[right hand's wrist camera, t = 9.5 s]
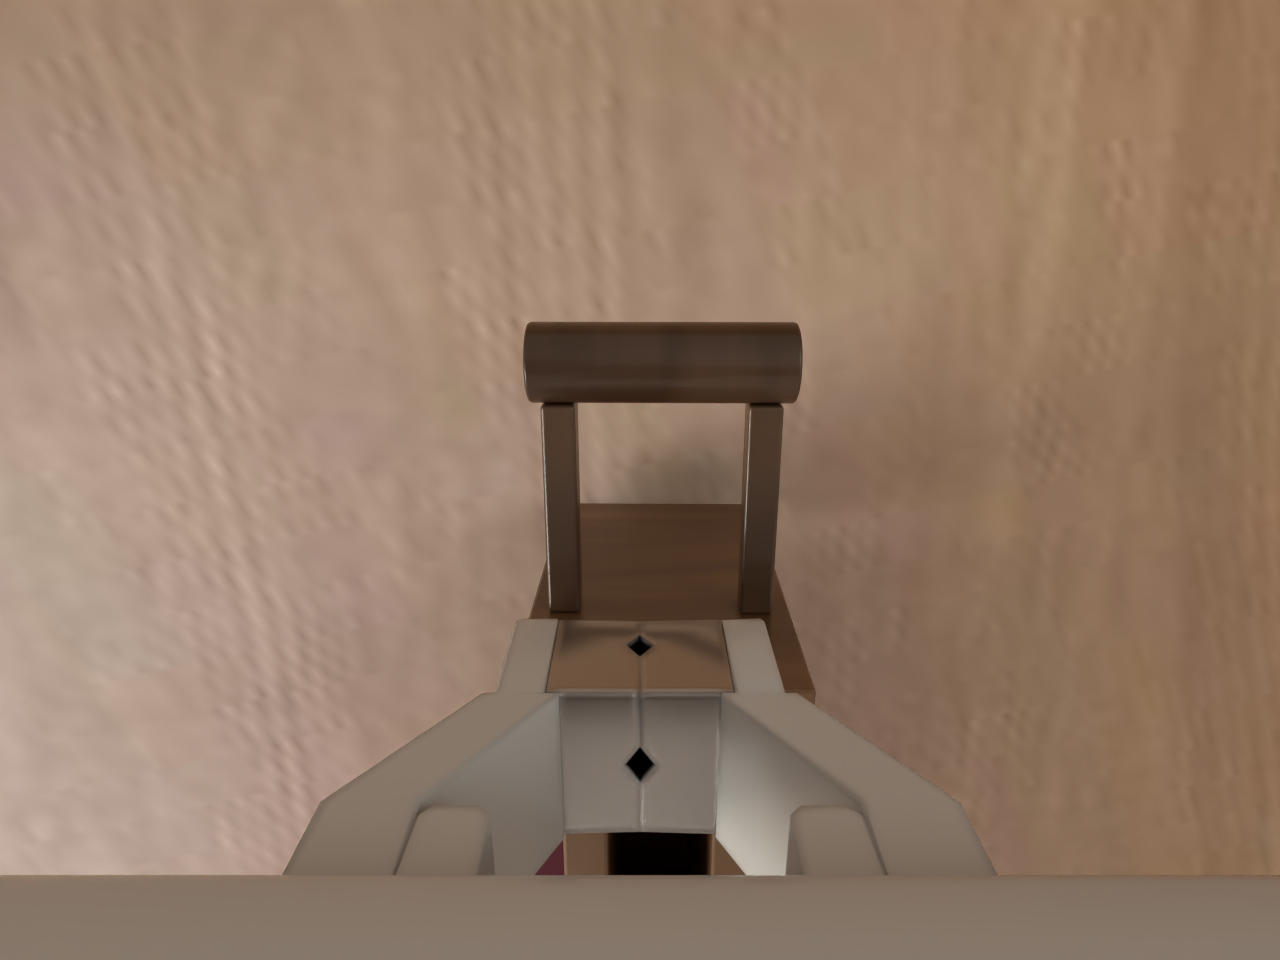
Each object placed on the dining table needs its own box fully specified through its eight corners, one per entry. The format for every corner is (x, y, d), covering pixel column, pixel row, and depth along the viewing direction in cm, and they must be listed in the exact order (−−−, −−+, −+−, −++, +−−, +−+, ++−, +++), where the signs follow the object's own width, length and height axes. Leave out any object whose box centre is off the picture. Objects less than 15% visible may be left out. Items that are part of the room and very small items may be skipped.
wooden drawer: (555, 288, 19) (486, 350, 11) (764, 288, 19) (844, 350, 11) (580, 1034, 27) (549, 1383, 19) (728, 1036, 27) (760, 1387, 19)
